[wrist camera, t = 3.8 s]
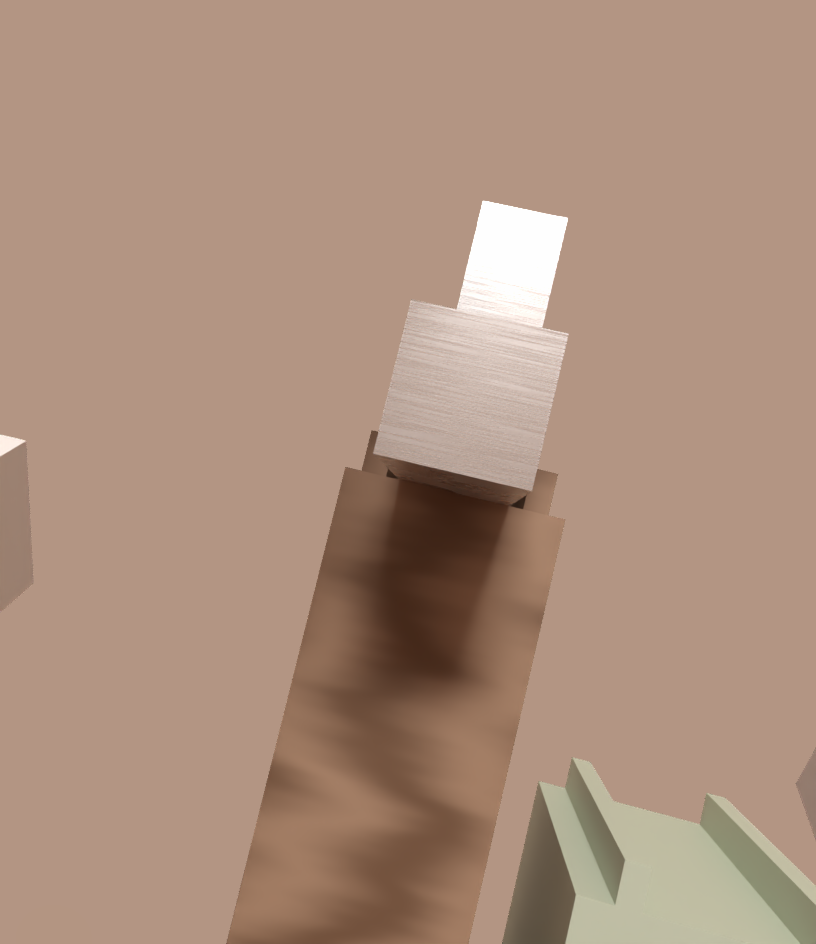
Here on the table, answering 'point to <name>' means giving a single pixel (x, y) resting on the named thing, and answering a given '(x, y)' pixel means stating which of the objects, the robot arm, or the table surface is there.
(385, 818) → the walnut stand
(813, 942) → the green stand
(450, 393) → the stepped metal block
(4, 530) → the robot arm
